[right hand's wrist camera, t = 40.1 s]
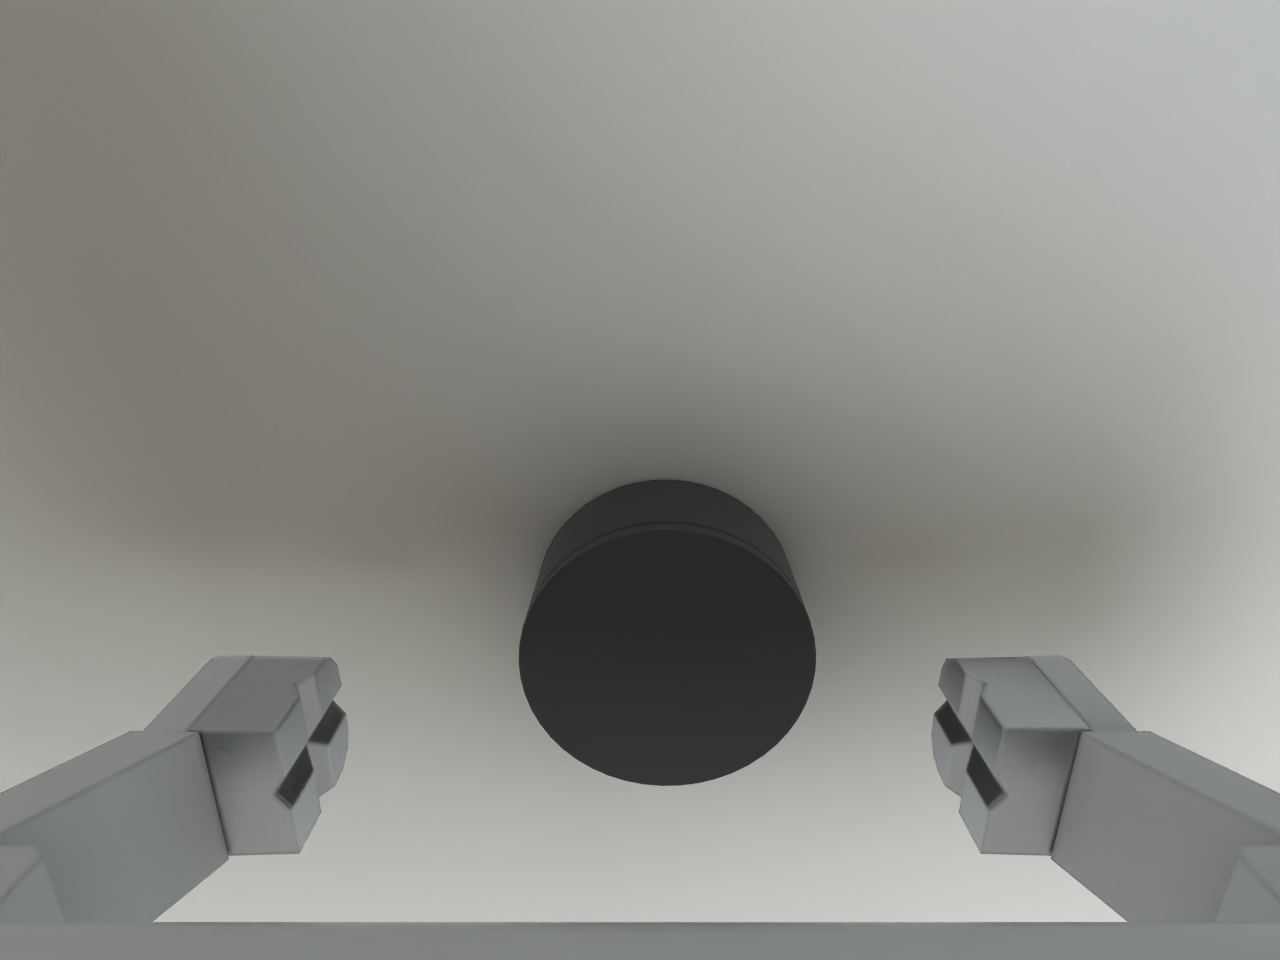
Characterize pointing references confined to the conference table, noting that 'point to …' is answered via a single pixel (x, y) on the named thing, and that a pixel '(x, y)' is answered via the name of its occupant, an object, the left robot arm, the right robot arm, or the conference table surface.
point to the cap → (666, 636)
